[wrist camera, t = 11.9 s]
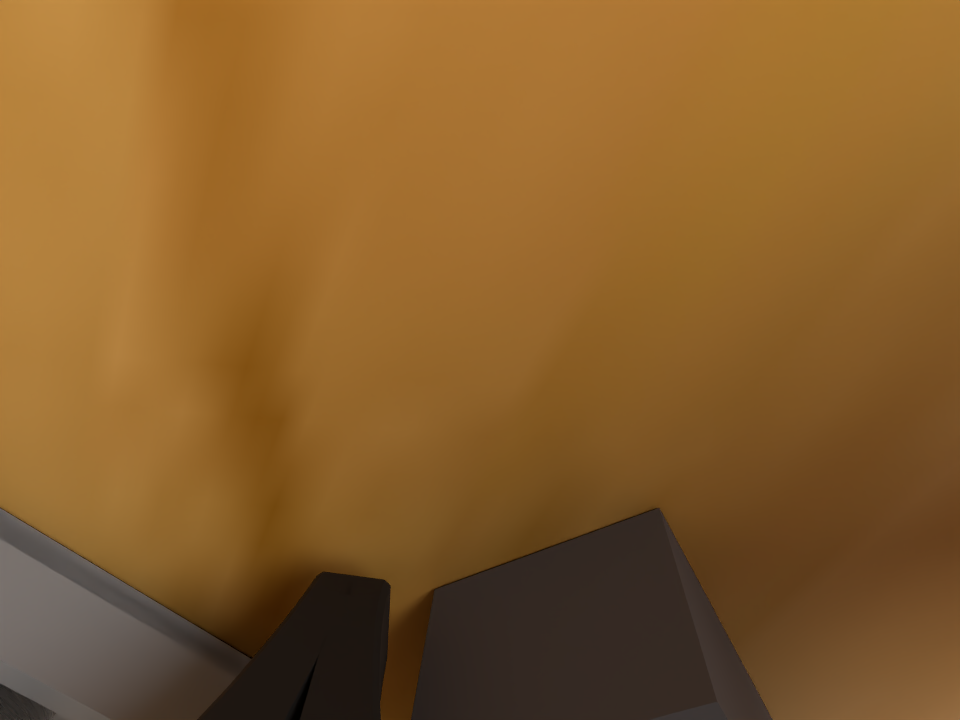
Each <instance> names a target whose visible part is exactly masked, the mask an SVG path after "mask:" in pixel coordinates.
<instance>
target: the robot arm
mask: <svg viewBox="0 0 960 720" xmlns="http://www.w3.org/2000/svg"><path fill="white" fill-rule="evenodd" d="M390 588H391V586H390V585H389V584H388V583H387V582H386V581H385V580H382V579H375V578H367V577H360V576H352V575H345V574H337V573H330V572H322V573H321V574H319V575H317V576H316V578H315V579H314V581H313V582H312V584H311V585H310V586H309V588H308V589H307V591H306V592H305V593H304V595H303V596H302V597H301V599H300V600H299V601H298V603H297V604H296V605H295V607H294V608H293V609H292V611H291V612H290V613H289V614H288V616H287V617H286V618H285V620H284V621H283V622H282V623H281V625H280V626H279V627H278V628H277V630H276V631H275V632H274V633H273V634H272V636H271V637H270V638H269V639H268V641H267V642H266V643H265V644H264V645H263V647H262V648H261V649H260V650H259V651H258V652H257V654H256V655H255V656H254V657H253V658H252V659H251V661H250V662H249V663H248V664H247V665H246V666H245V668H244V669H243V670H242V671H241V672H240V673H239V675H238V676H237V677H236V678H235V679H234V680H233V681H232V683H231V684H230V685H229V686H228V687H227V688H226V689H225V690H224V691H223V692H222V694H221V695H220V696H219V697H218V698H217V699H216V700H215V701H214V702H213V703H212V704H211V705H210V706H209V707H208V708H207V710H206V711H205V712H204V713H203V714H202V715H201V716H200V717H199V718H198V719H197V720H381V715H380V700H381V692H382V684H383V678H384V672H385V667H386V661H387V650H388V629H389V609H390Z"/></svg>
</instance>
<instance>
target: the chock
mask: <svg viewBox="0 0 960 720" xmlns="http://www.w3.org/2000/svg"><path fill="white" fill-rule="evenodd" d="M411 720H772V718H771V716H770V714H769V712H768V710H767V708H766V707H765V705H764V703H763V701H762V699H761V697H760V695H759V694H758V692H757V690H756V688H755V686H754V684H753V682H752V680H751V679H750V677H749V675H748V673H747V671H746V669H745V667H744V665H743V664H742V662H741V660H740V658H739V656H738V654H737V652H736V650H735V649H734V647H733V645H732V643H731V641H730V639H729V637H728V636H727V634H726V632H725V630H724V628H723V626H722V624H721V622H720V621H719V619H718V617H717V615H716V613H715V611H714V609H713V607H712V606H711V604H710V602H709V600H708V598H707V596H706V594H705V592H704V591H703V589H702V587H701V585H700V583H699V581H698V579H697V577H696V576H695V574H694V572H693V570H692V568H691V566H690V564H689V563H688V561H687V559H686V557H685V555H684V553H683V551H682V549H681V548H680V546H679V544H678V542H677V540H676V538H675V536H674V534H673V533H672V531H671V529H670V527H669V525H668V523H667V521H666V519H665V518H664V516H663V514H662V512H661V510H660V508H657V509H655V510H652V511H649V512H646V513H644V514H641V515H638V516H635V517H633V518H630V519H627V520H624V521H622V522H619V523H616V524H614V525H611V526H608V527H605V528H603V529H600V530H597V531H594V532H592V533H589V534H586V535H583V536H581V537H578V538H575V539H572V540H570V541H567V542H564V543H561V544H559V545H556V546H553V547H550V548H548V549H545V550H542V551H539V552H537V553H534V554H531V555H528V556H526V557H523V558H520V559H517V560H515V561H512V562H509V563H506V564H504V565H501V566H498V567H495V568H493V569H490V570H487V571H484V572H482V573H479V574H476V575H473V576H471V577H468V578H465V579H462V580H460V581H457V582H454V583H451V584H449V585H446V586H443V587H440V588H438V589H435V590H434V596H433V601H432V607H431V612H430V618H429V623H428V629H427V634H426V640H425V646H424V651H423V657H422V662H421V668H420V673H419V679H418V684H417V690H416V695H415V701H414V706H413V712H412V717H411Z"/></svg>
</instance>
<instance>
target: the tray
mask: <svg viewBox="0 0 960 720" xmlns="http://www.w3.org/2000/svg"><path fill="white" fill-rule="evenodd" d="M250 661H251V659H250V658H249V657H247V656H245V655H244V654H242V653H240V652H239V651H237V650H235V649H234V648H232V647H230V646H229V645H227V644H225V643H224V642H222V641H220V640H219V639H217V638H215V637H214V636H212V635H210V634H209V633H207V632H205V631H204V630H202V629H200V628H199V627H197V626H195V625H194V624H192V623H190V622H189V621H187V620H185V619H184V618H182V617H180V616H179V615H177V614H175V613H174V612H172V611H170V610H169V609H167V608H165V607H164V606H162V605H160V604H159V603H157V602H155V601H154V600H152V599H150V598H149V597H147V596H145V595H144V594H142V593H140V592H139V591H137V590H135V589H134V588H132V587H130V586H129V585H127V584H125V583H124V582H122V581H120V580H119V579H117V578H115V577H114V576H112V575H110V574H109V573H107V572H105V571H104V570H102V569H100V568H99V567H97V566H95V565H94V564H92V563H90V562H89V561H87V560H86V559H84V558H82V557H81V556H79V555H77V554H76V553H74V552H72V551H71V550H69V549H67V548H66V547H64V546H62V545H61V544H59V543H57V542H56V541H54V540H52V539H51V538H49V537H47V536H46V535H44V534H42V533H41V532H39V531H37V530H36V529H34V528H32V527H31V526H29V525H27V524H26V523H24V522H22V521H21V520H19V519H17V518H16V517H14V516H12V515H11V514H9V513H7V512H6V511H4V510H2V509H1V508H0V684H2V685H4V686H6V687H8V688H10V689H12V690H14V691H16V692H18V693H19V694H21V695H23V696H25V697H27V698H29V699H31V700H33V701H35V702H37V703H38V704H40V705H42V706H44V707H46V708H48V709H50V710H52V711H54V712H56V714H55V716H54V717H53V719H52V720H197V719H198V718H199V717H200V716H201V715H202V714H203V713H204V712H205V711H206V710H207V708H208V707H209V706H210V705H211V704H212V703H213V702H214V701H215V700H216V699H217V698H218V697H219V696H220V695H221V694H222V692H223V691H224V690H225V689H226V688H227V687H228V686H229V685H230V684H231V683H232V681H233V680H234V679H235V678H236V677H237V676H238V675H239V673H240V672H241V671H242V670H243V669H244V668H245V666H246V665H247V664H248V663H249V662H250Z"/></svg>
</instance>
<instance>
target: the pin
mask: <svg viewBox="0 0 960 720" xmlns="http://www.w3.org/2000/svg"><path fill="white" fill-rule="evenodd" d="M55 714H56V712H54V711H52V710H50V709H48V708H46V707H44V706H42V705H40V704H38V703H37V702H35V701H33V700H31V699H29V698H27V697H25V696H23V695H21V694H19V693H18V692H16V691H14V690H12V689H10V688H8V687H6V686H4V685H2V684H0V720H52V719H53V717H54V716H55Z"/></svg>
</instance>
